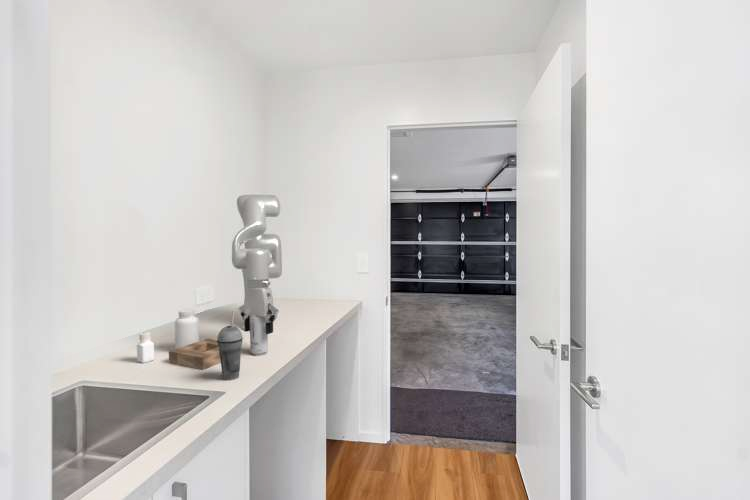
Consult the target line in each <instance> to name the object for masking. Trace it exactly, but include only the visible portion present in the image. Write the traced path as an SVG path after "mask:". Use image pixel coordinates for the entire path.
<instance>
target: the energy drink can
mask: <svg viewBox="0 0 750 500" xmlns="http://www.w3.org/2000/svg"><path fill="white" fill-rule="evenodd" d="M266 323H267V321H266V320H265V318H264V317H258V316H256V315H251V316H250V331H249V343H250V345H249V346H250V353H251V354H252V356H263V355H265V354H267V352H268V351H269V341H268V339H269V336H268V335H269V334H266Z"/></svg>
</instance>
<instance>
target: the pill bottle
mask: <svg viewBox="0 0 750 500" xmlns="http://www.w3.org/2000/svg"><path fill="white" fill-rule="evenodd" d="M195 311H196V310H195V309H194V308H185V309H179V310H178V318H176V319H175V321H174V335H175V336H174V338H175V339H174V340H175V341H174V343H175V346H174V347H175V349H177V348H180V347H183V346H186V345H189V344H192V343H196V342H199V341H200V320H199V318H198V317H197V316H196V315H195V314H196V312H195Z"/></svg>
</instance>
